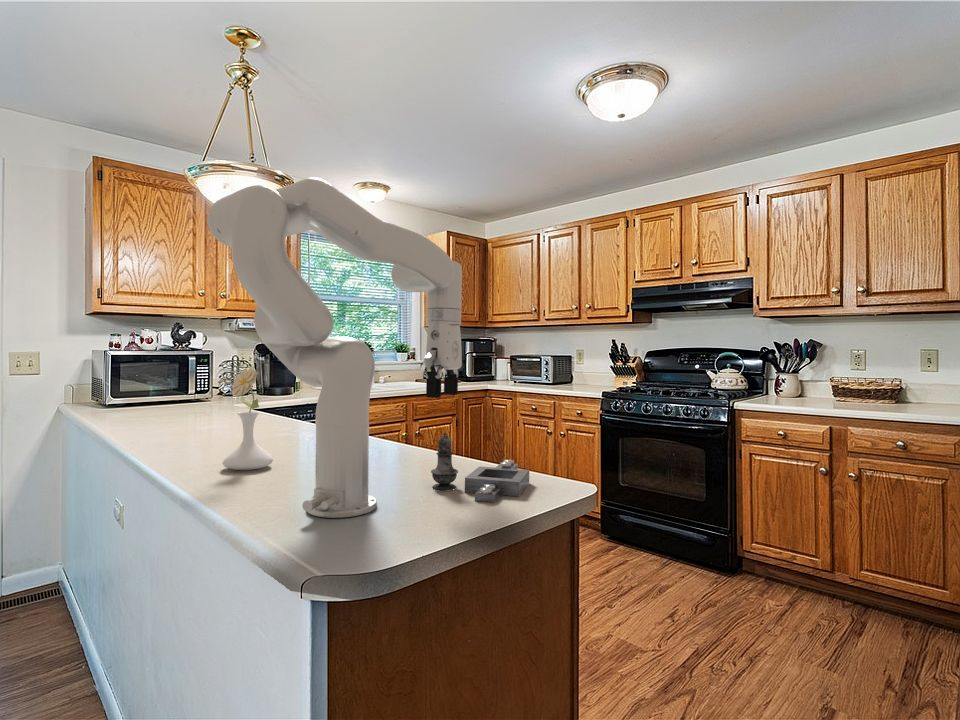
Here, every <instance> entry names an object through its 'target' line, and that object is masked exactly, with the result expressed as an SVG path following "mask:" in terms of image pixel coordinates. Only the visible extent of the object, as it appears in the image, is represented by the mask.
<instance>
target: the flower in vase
mask: <svg viewBox="0 0 960 720" xmlns="http://www.w3.org/2000/svg"><path fill="white" fill-rule="evenodd" d="M257 375H258V372H257V370H256V369H255V367H252V366H250V367H249V368H247V367H244V369H243V370H241V372H240V373H238V374H236V378H235V379H234V382H233V384H232V385H231V388H232V390H231V395H233V396H234V397H235V398H237V397H238V398H239V397H241V398H240V399H241V400H240V401H241V403H243V404H244V405H246V406H247V407H249V410H244V411H238V412H237V415H238V416H239V417H240V420H241V422H242V430H243V431H242V433H243V434H242V435H243V437H242V441H241V444H240V445H238V447H236V448H235V449H234V450H232V452H230V453H229V454H228V455H227V456H226V457H225V458H224V459H223V462H222V465H223V467H224V468H225V469H226V468H227V469H229V470H233V471H234V470H235V471H250V470H251V471H252V470H257V469H263V468H265V467H267V466H270V465H272V463H273V461H274V459H273V458H274V457H273V456H272V455H271V454H270V453H269V452H268V451H266V450H265V449H264V448H262V447H261V446H260V445H258V444H257V443H256V441H255V440H254V439H255V438H254V428H255V422H256V419H257V417H258V415H259V414H260V411H257V410H253V409H257V408H259V407H260V405H259V399H258V398H255V395H254V392H253V389H252V387H253V384H256V380H257V377H258V376H257ZM249 391H250V393H251V396H252V402H250V401H248V400H246V399H245V398H244V397H243V396H245V394H246V393H248V392H249Z"/></svg>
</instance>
